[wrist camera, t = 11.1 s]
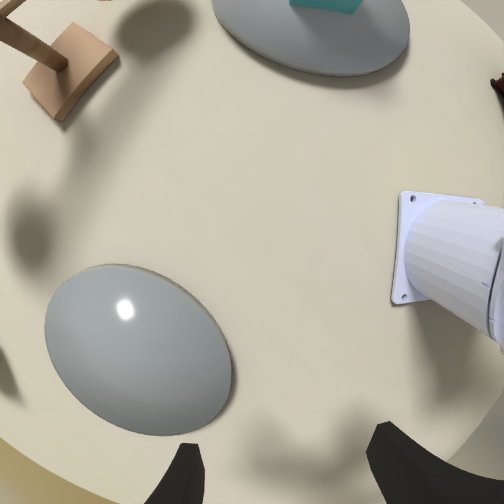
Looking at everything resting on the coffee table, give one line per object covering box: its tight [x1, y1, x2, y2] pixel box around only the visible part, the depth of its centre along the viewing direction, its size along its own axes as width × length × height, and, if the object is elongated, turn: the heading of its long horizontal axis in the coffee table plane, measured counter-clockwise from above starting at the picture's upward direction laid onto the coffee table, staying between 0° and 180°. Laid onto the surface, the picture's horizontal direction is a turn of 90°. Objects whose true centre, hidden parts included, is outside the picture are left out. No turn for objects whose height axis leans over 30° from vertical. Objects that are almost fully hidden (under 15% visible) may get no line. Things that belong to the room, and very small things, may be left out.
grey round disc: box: [45, 264, 231, 436], centre depth 18 cm, size 15×15×1 cm
